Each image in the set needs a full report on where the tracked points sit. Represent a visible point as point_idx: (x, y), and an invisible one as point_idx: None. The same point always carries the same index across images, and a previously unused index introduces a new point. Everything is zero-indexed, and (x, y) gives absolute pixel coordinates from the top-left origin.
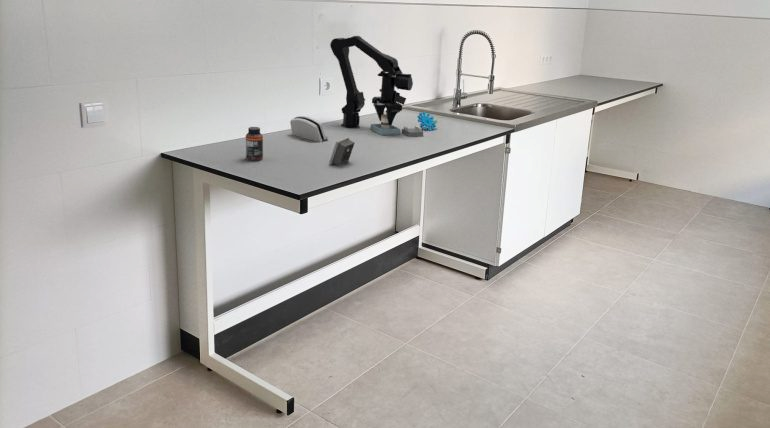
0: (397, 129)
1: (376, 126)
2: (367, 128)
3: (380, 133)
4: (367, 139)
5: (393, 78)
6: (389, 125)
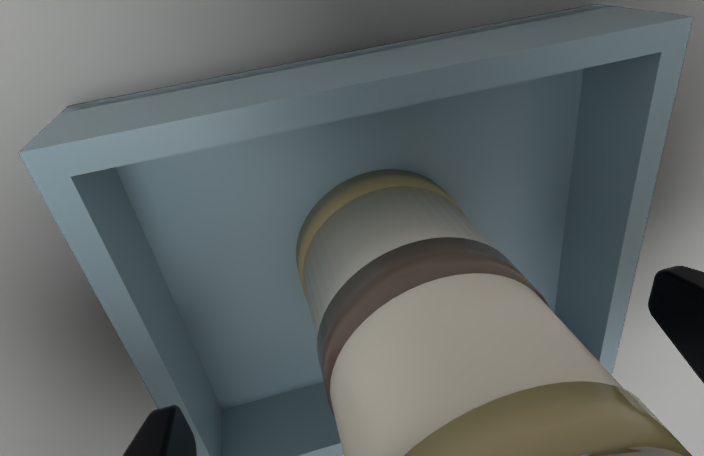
0: (669, 86)
1: None
2: (124, 442)
3: None
4: None
5: None
6: (493, 249)
